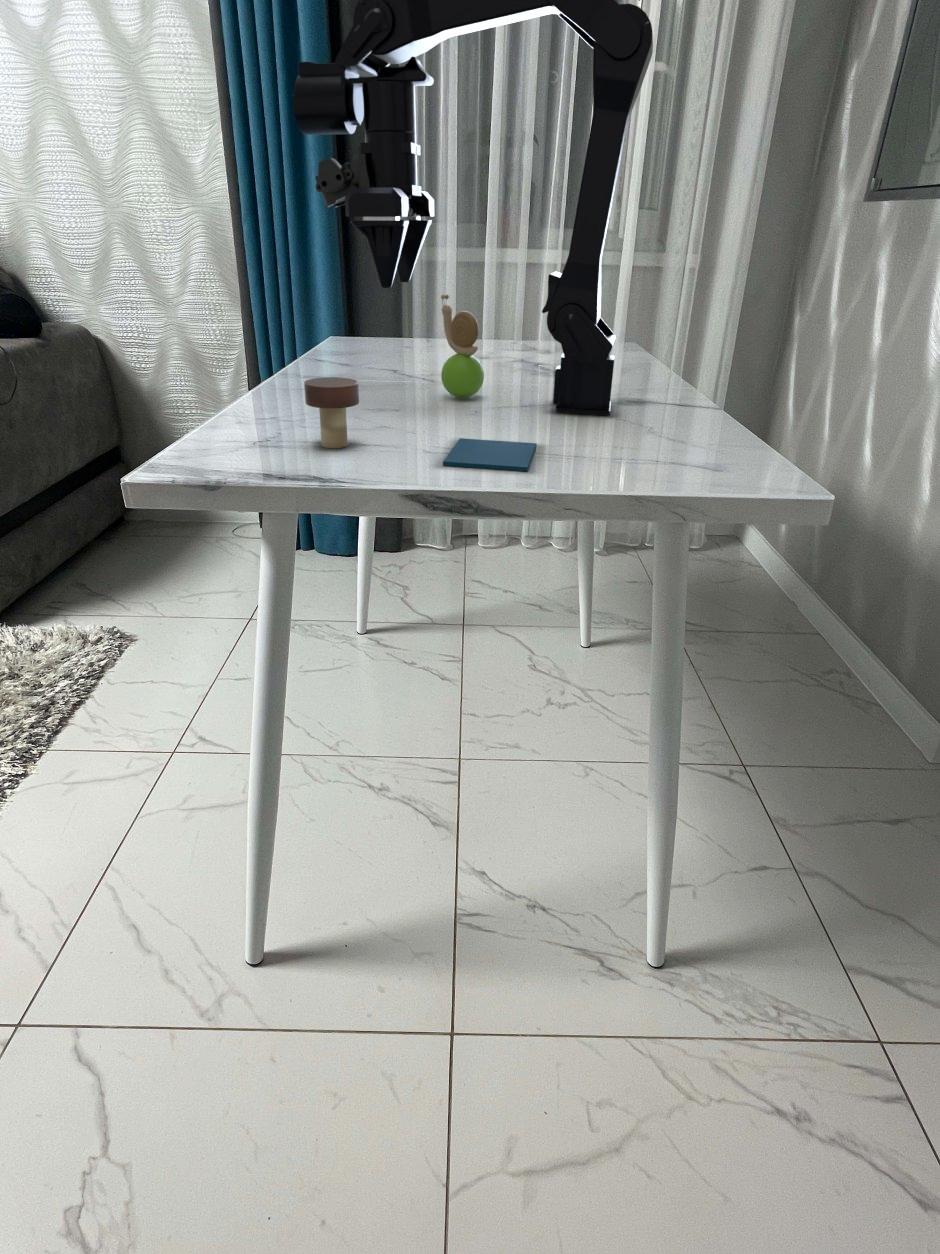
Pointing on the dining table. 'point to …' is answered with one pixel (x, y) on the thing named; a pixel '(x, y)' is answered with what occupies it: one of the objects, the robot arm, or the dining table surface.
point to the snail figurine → (461, 354)
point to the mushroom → (332, 406)
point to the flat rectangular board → (491, 454)
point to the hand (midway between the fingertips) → (396, 284)
